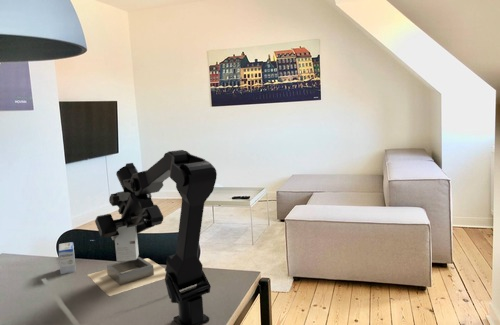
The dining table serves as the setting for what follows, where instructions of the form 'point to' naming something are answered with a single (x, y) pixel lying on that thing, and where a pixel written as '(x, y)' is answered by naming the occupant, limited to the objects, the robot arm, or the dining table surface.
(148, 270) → the sleeve
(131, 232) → the skincare box
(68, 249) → the medicine box
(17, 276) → the dining table surface
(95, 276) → the board
